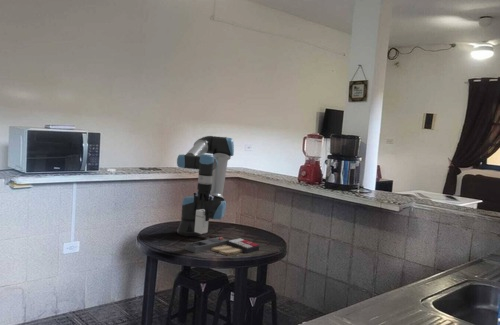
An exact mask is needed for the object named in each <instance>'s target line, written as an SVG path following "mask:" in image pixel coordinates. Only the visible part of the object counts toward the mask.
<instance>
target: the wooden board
mask: <svg viewBox="0 0 500 325" xmlns="http://www.w3.org/2000/svg"><path fill="white" fill-rule="evenodd" d="M211 251H212V252H216V253H218V254H221V255H225V256H231V255H236V254H239V253H243V252H242V249H239V248H235V247H232V246H229V245H222V246H218V247H213V248H211Z"/></svg>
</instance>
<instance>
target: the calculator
mask: <svg viewBox="0 0 500 325" xmlns="http://www.w3.org/2000/svg"><path fill="white" fill-rule="evenodd" d="M227 245H229V246H232V247H235V248H239V249H242V252H241V253H245V254H249V253H253V252H257V251H259V250H260V245H259V244H257V243H255V242H252V241H249V240H247V239H243V238H241V237H240V238H236V239H231V240H228V242H227Z"/></svg>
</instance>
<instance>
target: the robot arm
mask: <svg viewBox="0 0 500 325" xmlns="http://www.w3.org/2000/svg"><path fill="white" fill-rule="evenodd" d="M234 146H235V145H234V139H233V138H231V137H227V136H213V135H206V136H202V137H200V138H198V139H197V140H195V142H194V143H193V146H192V147H191V148H190V149H189V150H188V151H187V152H186V154H184V153H183V154H179V155H178V156H177V159H176V166H177V167H178V168H179V169H181V168H182V169H190V170H198V177H197V178H198V179H197V182H198V183H197V188H196V189H197V192H194V193H193V195H191V196H185V197H183V199H182V203H181V216H180V222H179V225H178V227H177V230H176V233H177V234H178V235H180V236H184V237H185V236H186V237H198V236H201V235H202V234H200V233H197V232H194V231H195V218H196V210H200V209H204V210H205V214H204V221H203V227H208V228H209V220H214V221H215V220H219V221H220V220H222V219H223V218H224V216H225V212H226V209H227V202H226V200H225V198H224V196H223V194H224V187H225V181H226V176H227V175H226V174H227V170H228V169H227V168H228V162H229V160H231V158H232V157H233V156H234V152H235V148H234ZM207 212H208V213H207Z"/></svg>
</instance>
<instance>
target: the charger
mask: <svg viewBox="0 0 500 325" xmlns="http://www.w3.org/2000/svg"><path fill="white" fill-rule="evenodd" d="M207 213H208V212H207ZM204 214H205V210H204V209H200V210H196V218H195V231H194V232H197V233H200V234H201V235H203V234H206V233H208V232H209V226H208V227H203V221H204Z"/></svg>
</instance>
